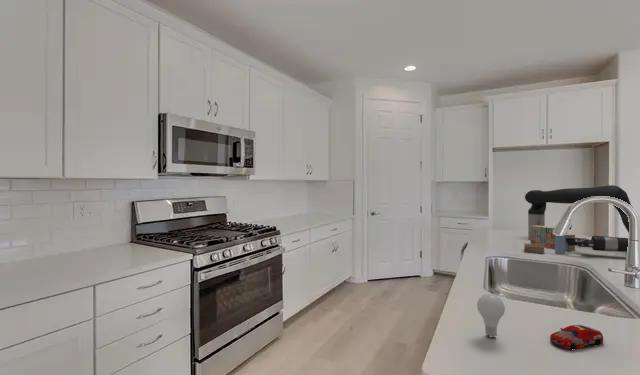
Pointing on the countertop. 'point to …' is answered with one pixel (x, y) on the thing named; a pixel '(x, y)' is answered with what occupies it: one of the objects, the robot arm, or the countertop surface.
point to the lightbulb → (491, 312)
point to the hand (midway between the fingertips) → (565, 241)
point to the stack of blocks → (547, 237)
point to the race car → (576, 337)
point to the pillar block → (560, 245)
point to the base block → (533, 248)
